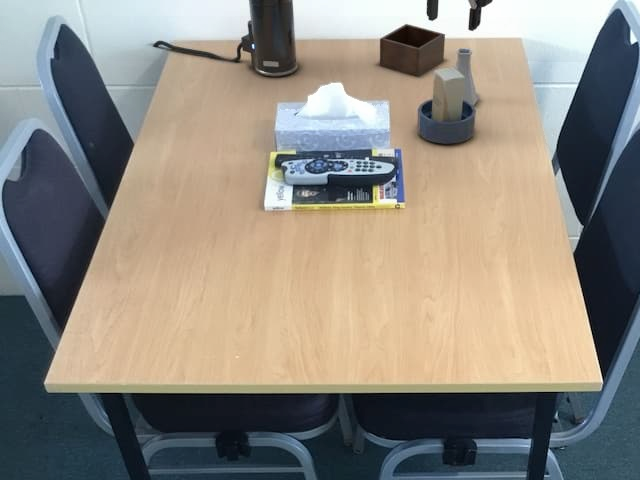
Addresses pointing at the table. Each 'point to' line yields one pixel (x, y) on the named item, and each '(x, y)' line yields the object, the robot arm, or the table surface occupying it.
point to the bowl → (446, 125)
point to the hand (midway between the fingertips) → (452, 24)
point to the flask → (466, 74)
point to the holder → (412, 49)
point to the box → (447, 95)
